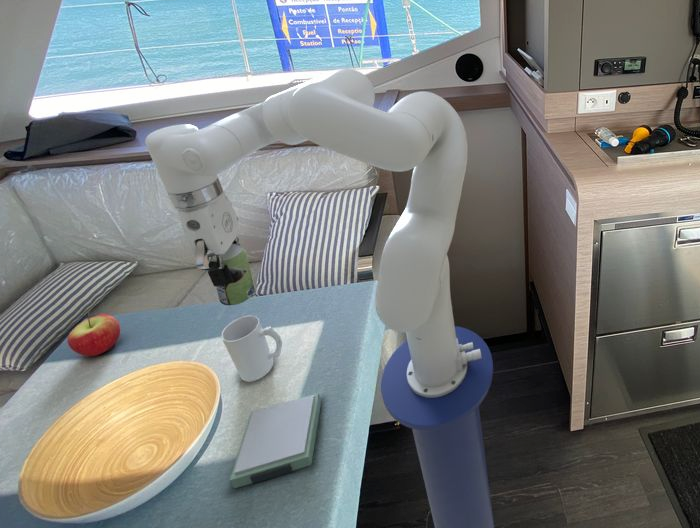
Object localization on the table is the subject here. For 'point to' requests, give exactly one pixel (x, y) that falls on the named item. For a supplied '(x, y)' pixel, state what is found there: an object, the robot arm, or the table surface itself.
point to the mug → (250, 347)
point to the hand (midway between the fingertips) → (230, 271)
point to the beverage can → (236, 277)
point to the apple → (94, 335)
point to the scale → (277, 441)
